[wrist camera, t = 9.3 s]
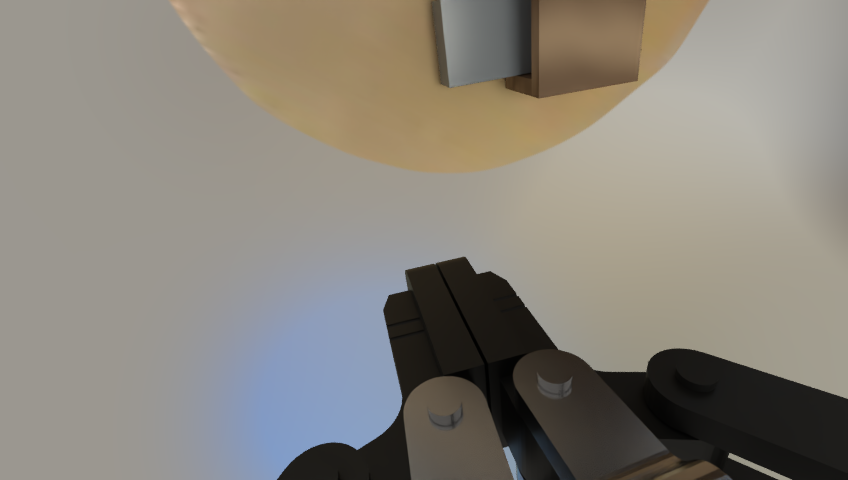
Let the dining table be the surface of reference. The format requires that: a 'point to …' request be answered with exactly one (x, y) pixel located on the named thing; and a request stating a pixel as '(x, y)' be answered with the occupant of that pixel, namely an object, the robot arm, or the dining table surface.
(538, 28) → the walnut bridge
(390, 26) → the dining table surface
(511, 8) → the grey rectangular block
